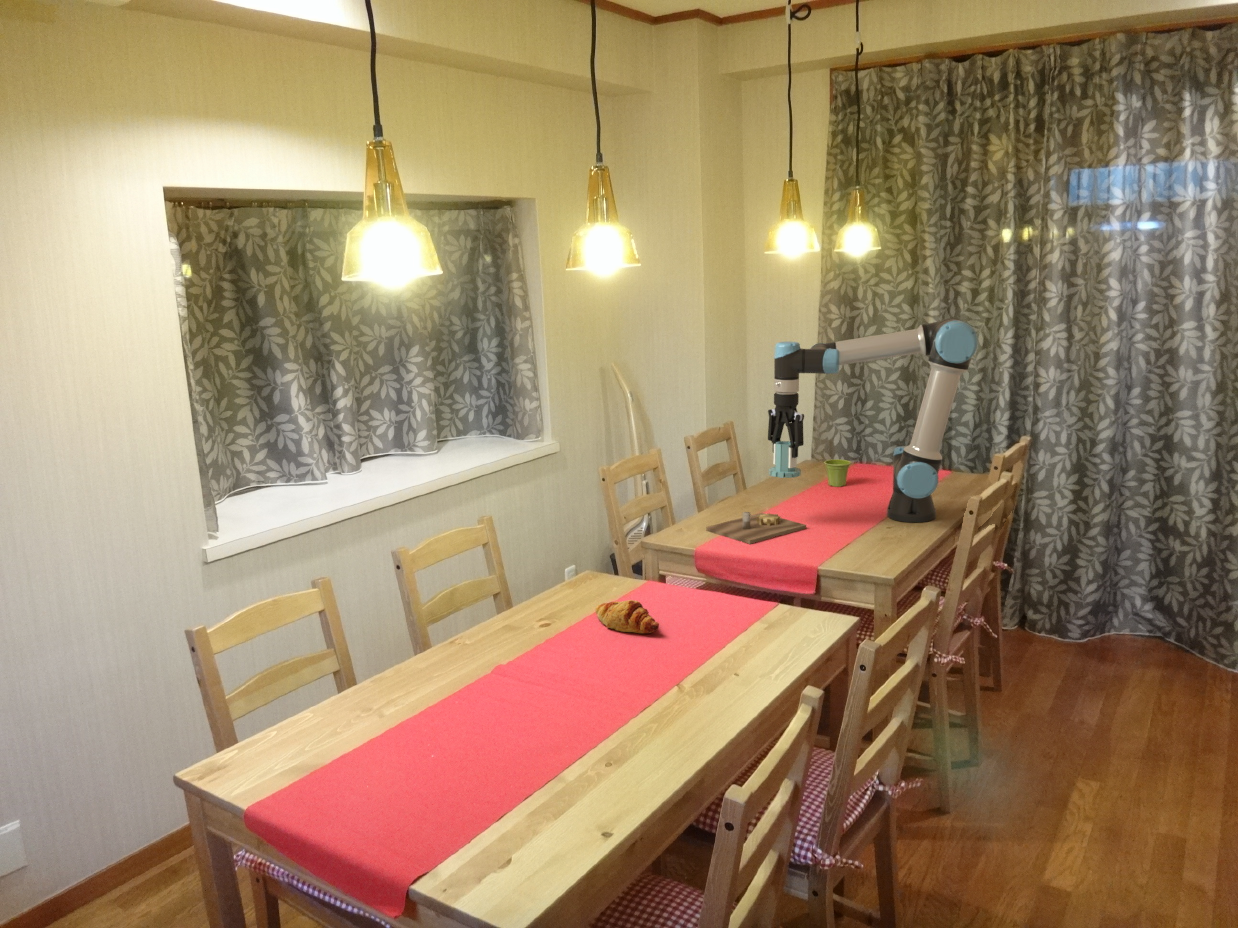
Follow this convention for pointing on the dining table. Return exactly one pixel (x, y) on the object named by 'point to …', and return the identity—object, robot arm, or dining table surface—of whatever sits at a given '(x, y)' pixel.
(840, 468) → the plant pot
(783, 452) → the gear
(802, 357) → the robot arm
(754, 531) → the carrier board
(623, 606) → the croissant
